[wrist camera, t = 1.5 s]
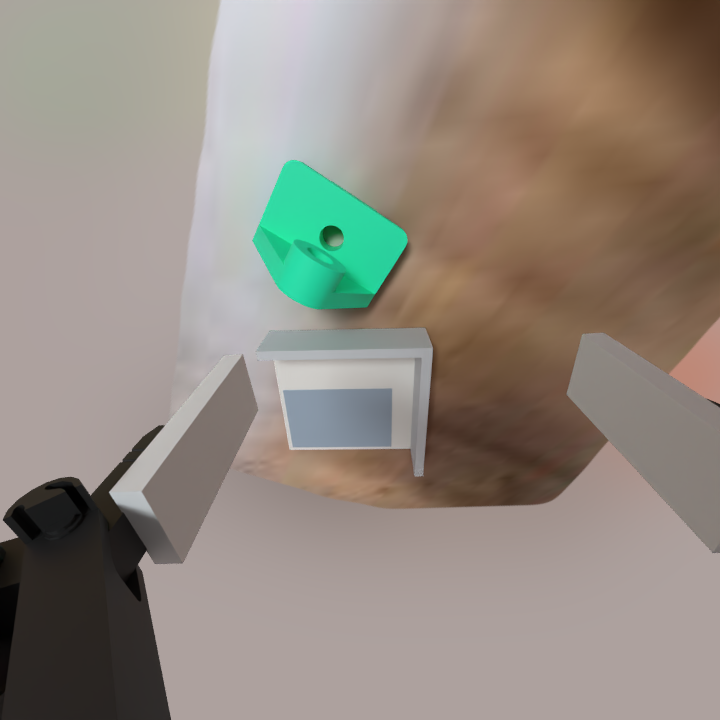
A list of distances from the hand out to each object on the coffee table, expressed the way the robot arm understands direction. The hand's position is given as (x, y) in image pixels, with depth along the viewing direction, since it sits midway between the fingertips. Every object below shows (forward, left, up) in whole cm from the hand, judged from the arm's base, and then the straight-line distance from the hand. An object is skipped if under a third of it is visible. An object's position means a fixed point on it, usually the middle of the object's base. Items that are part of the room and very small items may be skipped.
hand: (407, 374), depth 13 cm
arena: (+16, -5, -22) cm, 27 cm away
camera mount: (-3, -5, -22) cm, 23 cm away
